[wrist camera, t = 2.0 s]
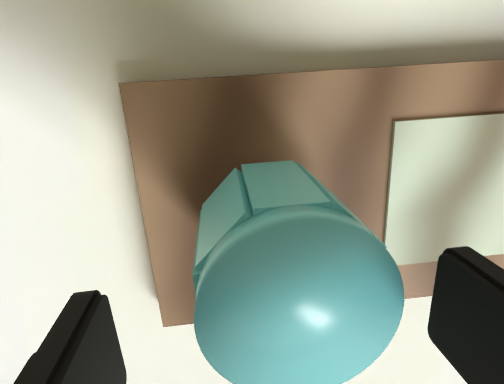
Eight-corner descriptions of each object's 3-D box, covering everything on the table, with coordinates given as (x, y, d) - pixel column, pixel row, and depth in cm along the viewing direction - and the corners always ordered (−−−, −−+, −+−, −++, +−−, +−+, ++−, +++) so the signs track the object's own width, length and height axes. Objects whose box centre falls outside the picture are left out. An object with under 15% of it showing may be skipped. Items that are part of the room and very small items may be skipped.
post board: (557, 56, 17) (850, 37, 9) (508, 270, 22) (679, 384, 14) (127, 82, 16) (34, 88, 8) (167, 309, 20) (133, 464, 12)
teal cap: (336, 156, 14) (414, 208, 9) (332, 276, 16) (395, 383, 11) (195, 168, 14) (180, 230, 8) (209, 289, 16) (206, 408, 10)
